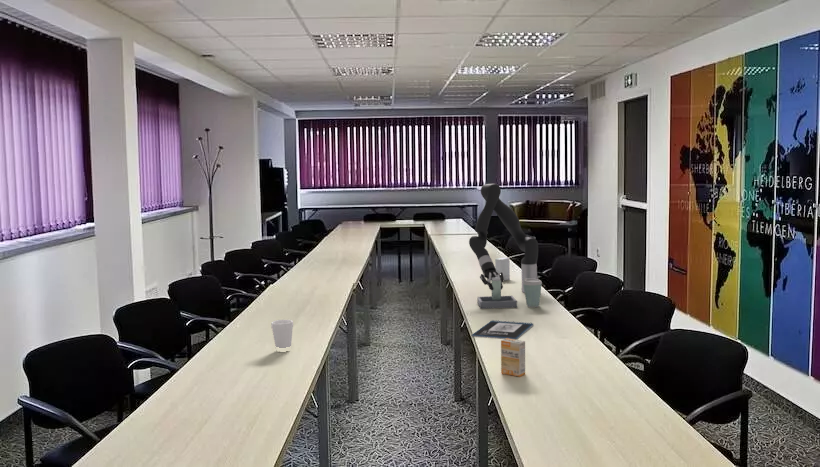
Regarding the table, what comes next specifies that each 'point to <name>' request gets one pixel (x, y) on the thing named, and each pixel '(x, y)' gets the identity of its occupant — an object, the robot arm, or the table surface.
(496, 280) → the shaker
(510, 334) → the sketchbook
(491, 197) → the robot arm
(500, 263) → the skincare box
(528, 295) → the disposable coffee cup
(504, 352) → the supplement box
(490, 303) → the tray
